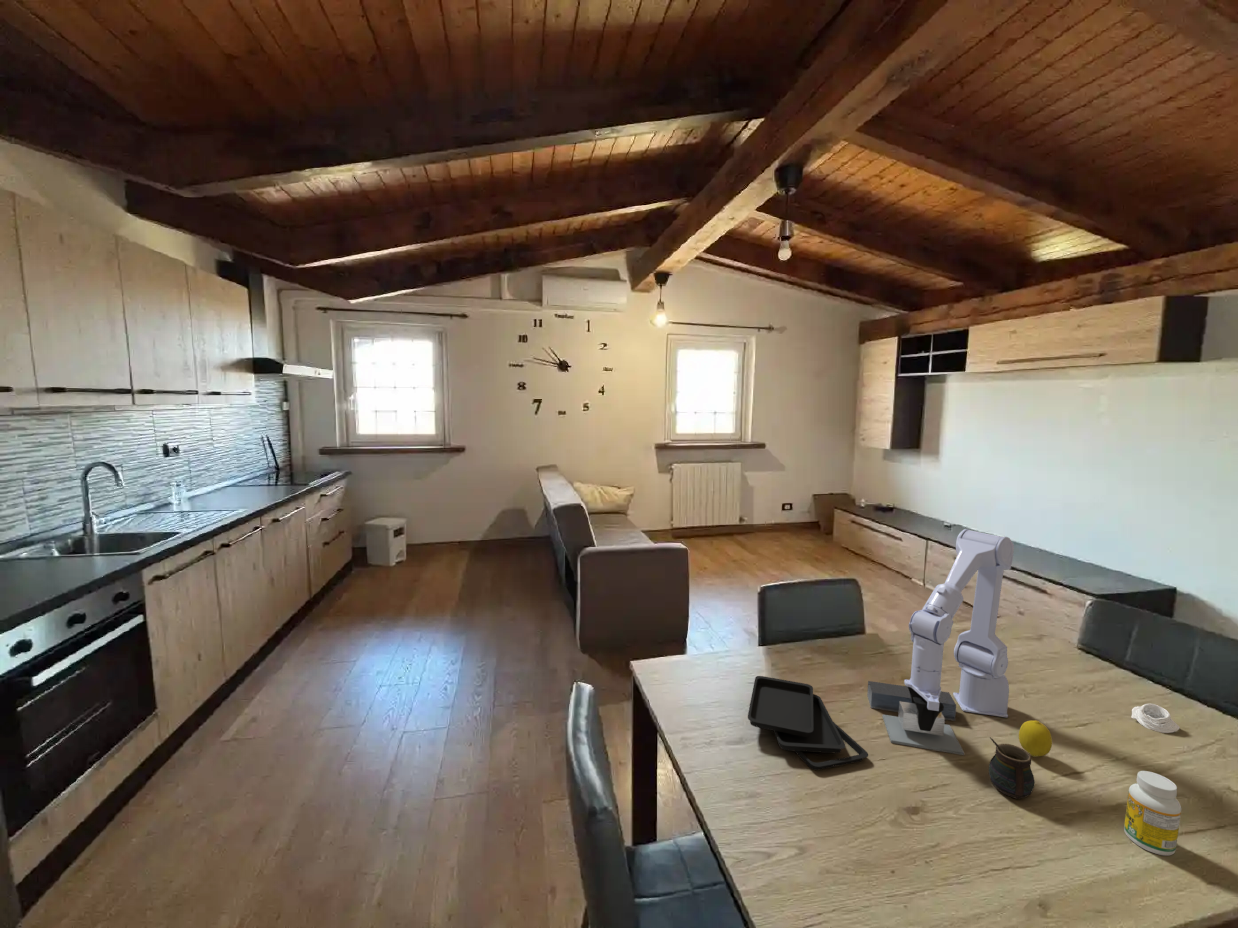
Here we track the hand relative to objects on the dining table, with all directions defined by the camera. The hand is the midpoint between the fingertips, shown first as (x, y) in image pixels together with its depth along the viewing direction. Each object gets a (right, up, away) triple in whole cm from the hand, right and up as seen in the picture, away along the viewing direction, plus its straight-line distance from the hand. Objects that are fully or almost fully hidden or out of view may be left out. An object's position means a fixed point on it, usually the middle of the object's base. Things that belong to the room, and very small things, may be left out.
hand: (921, 722), depth 119 cm
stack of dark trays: (-28, -3, +2) cm, 28 cm away
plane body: (+3, -2, +11) cm, 11 cm away
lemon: (+20, -4, -6) cm, 21 cm away
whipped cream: (+57, -3, +5) cm, 57 cm away
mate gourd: (+8, -5, -16) cm, 19 cm away
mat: (0, -3, 0) cm, 3 cm away
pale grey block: (0, -1, 0) cm, 1 cm away
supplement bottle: (+23, -7, -28) cm, 37 cm away
